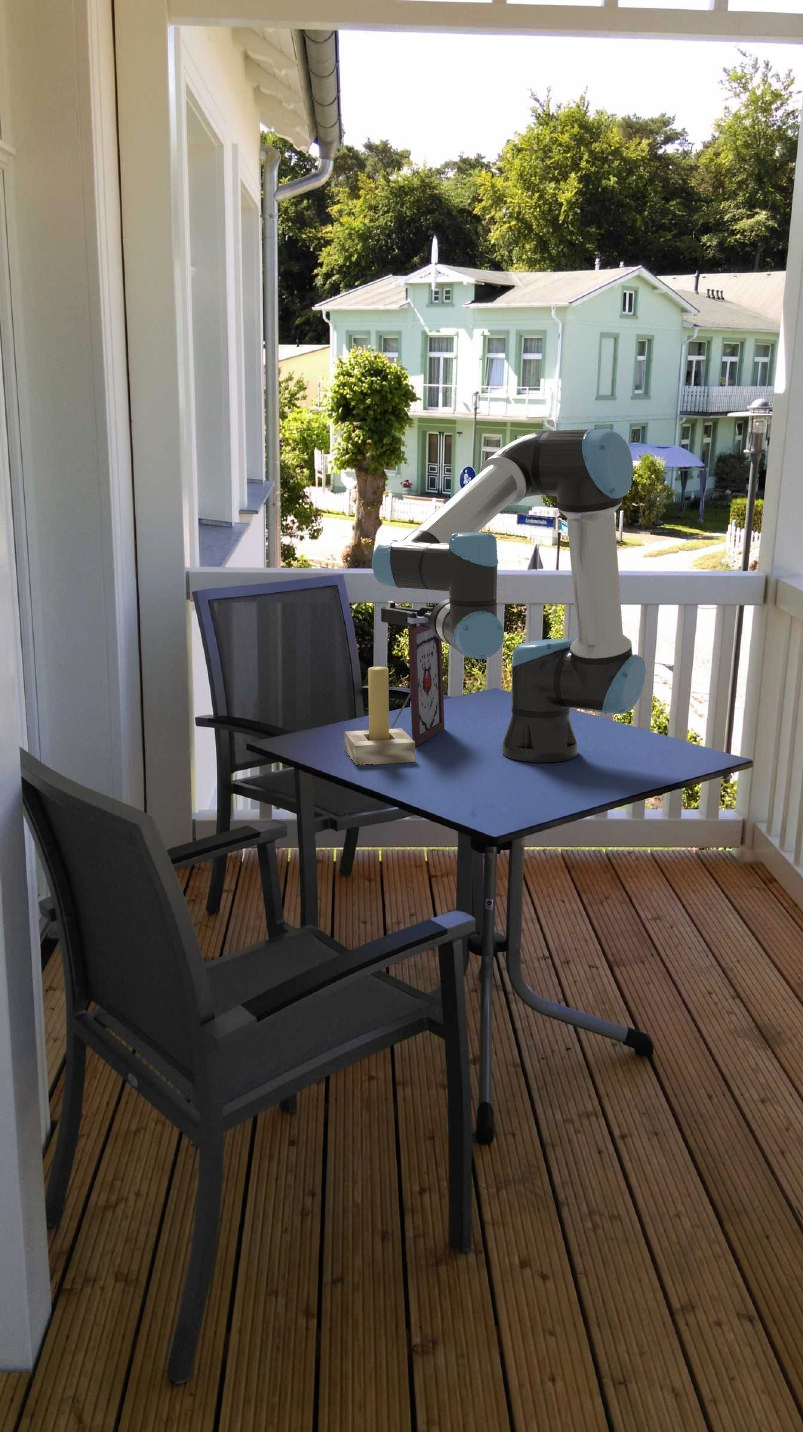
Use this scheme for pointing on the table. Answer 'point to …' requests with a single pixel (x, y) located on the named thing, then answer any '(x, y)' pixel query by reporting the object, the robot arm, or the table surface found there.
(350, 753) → the socket block
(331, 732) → the table surface
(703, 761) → the table surface
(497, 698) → the table surface
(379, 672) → the peg
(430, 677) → the picture frame
